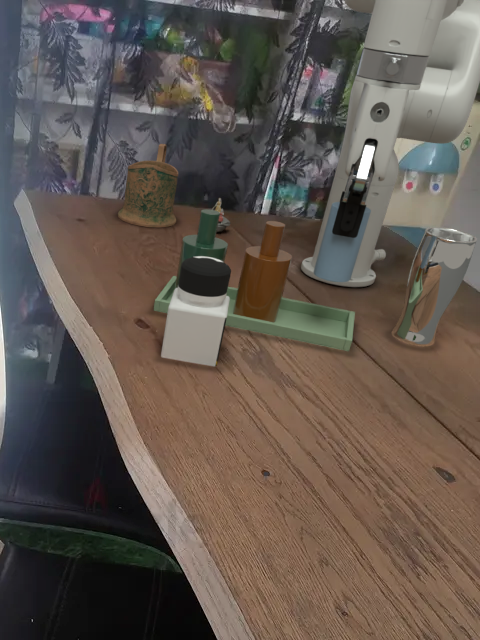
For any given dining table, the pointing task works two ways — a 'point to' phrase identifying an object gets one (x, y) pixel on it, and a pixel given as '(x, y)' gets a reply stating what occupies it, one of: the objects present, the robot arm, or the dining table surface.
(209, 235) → the green bottle
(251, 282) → the amber bottle
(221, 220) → the figurine
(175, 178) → the bronze bell
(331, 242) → the blue bottle
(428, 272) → the beer glass
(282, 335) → the tray
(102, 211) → the dining table surface
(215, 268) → the medicine bottle
